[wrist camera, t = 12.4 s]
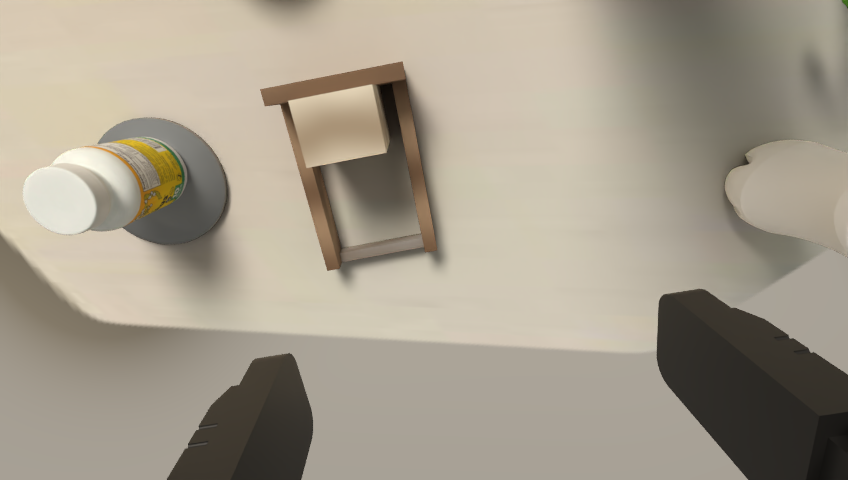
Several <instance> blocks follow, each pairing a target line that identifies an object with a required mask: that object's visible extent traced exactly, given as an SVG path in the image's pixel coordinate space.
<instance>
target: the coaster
mask: <svg viewBox="0 0 848 480" xmlns="http://www.w3.org/2000/svg"><path fill="white" fill-rule="evenodd" d="M136 137H151V138H155V139H158V140H161V141H163V142H165V143H167V144H168V145H170V146H171V147H172V148H174V149H175V150H176V151H177V153H178V154H179V155H180V157H181V158H182V160H183V162H184V164H185V166H186V169H187V183H186V187H185V189H184V191H183V193H182V195H181V196H180V197H179V198H178V199H177V200H176V201H174V202H173V203H171V204H169V205H167V206H165V207H163V208H161V209H159V210H157V211H155V212H152V213H150V214H148V215H146V216H144V217H142V218H140V219H138V220H136V221H134V222H132V223H130V224H128V225H126V226H124V227H122V228H124V229H125V230H126V231H128V232H130V233H131V234H133V235H135V236H137V237H139V238H141V239H144V240H147V241H150V242H154V243H160V244H180V243H185V242H189V241H192V240H194V239H196V238H198V237H200V236H202V235H203V234H205V233H206V232H207V231H209V230H210V229H211V228H212V227H213V226H214V225H215V224H216V223H217V221H218V220H219V218H220V217H221V215H222V213H223V211H224V208H225V204H226V199H227V183H226V177H225V174H224V170H223V168H222V165H221V163H220V161H219V159H218V158H217V156H216V154H215V153H214V152H213V150H212V149H211V148H210V146H209V145H208V144H207V143H206V142H205V141H204V140H203V139H202V138H201V137H199V136H198V135H197V134H196V133H194V132H193V131H191V130H190V129H188V128H186V127H184V126H183V125H180V124H178V123H175V122H173V121H169V120H166V119H160V118H138V119H132V120H128V121H124V122H122V123H120V124H117V125H116V126H114V127H113V128H111V129H110V130H109V131H107V132H106V133H105V134H104V135H103V137H102V138H101V139H100V140H99V142H98V144H103V143H109V142H114V141H119V140H124V139H129V138H136Z"/></svg>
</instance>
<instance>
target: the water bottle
mask: <svg viewBox="0 0 848 480" xmlns="http://www.w3.org/2000/svg"><path fill="white" fill-rule="evenodd" d="M745 156H746V159H747V161H748V162H749V163H750V164H748V165H744V166H739V167H736V168H734V169H732V170H731V171H730V173H729V174H728V175H727V177H726V181H725V192H726V195H727V197H728V199H729V201H730V202H731V203H732V204H733V205H734V210H735V212H736V213H737V214H738V216H739V217H740V218H741V219H742V220H744V221H745V222H747V223H749V224H750V225H752V226H754V227H756V228H759V229H761V230H764V231H766V232H770V233H774V234H781V235H787V236H793V237H797V238H800V239H804V240H808V241H811V242H814V243H817V244H820V245H822V246H825V247H827V248H830V249H832V250H834V251H836V252H838V253H840V254H842V255H844V256H846V257H847V258H848V152H844V151H840V150H837V149H834V148H830V147H827V146H825V145H822V144H820V143H817V142H813V141H805V140H781V141H774V142H770V143H766V144H763V145H760V146H758V147H755V148H753V149H751V150H750V151H749V152H747V153H746V154H745Z"/></svg>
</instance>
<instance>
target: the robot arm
mask: <svg viewBox="0 0 848 480" xmlns="http://www.w3.org/2000/svg"><path fill="white" fill-rule="evenodd" d="M657 361H658V366H659V370H660V372H661V375H662V377H663V379H664V381H665V382H666V384H667V385H668V386H669V388H670V389H671V390H672V391H673V392H674V393H675V395H676V396H677V397H678V398H679V399H680V400H681V401H682V403H683V404H684V405H685V406H686V407H687V409H688V410H689V411H690V412H691V413H692V414H693V416H694V417H695V418H696V419H697V420H698V421H699V423H700V424H701V425H702V426H703V427H704V428H705V430H706V431H707V432H708V433H709V434H710V435H711V436H712V438H713V439H714V440H715V441H716V442H717V444H718V445H719V446H720V447H721V448H722V450H723V451H724V452H725V453H726V454H727V455H728V456H729V458H730V459H731V460H732V461H733V462H734V464H735V465H736V466H737V467H738V468H739V469H740V471H741V472H742V473H743V474H744V475H745V476H746V478H747V479H748V480H848V375H847V374H846V373H844V372H843V371H841V370H840V369H838V368H837V367H835V366H834V365H832V364H830V363H829V362H828V361H826V360H825V359H823V358H822V357H820V356H819V355H817V354H816V353H814V352H813V353H810V351H809V349H808V348H807V347H805V346H804V345H802V344H801V343H799V342H798V341H796V340H795V339H790V338H789V336H788V335H787V334H786V333H784V332H783V331H781V330H780V329H778V328H777V327H775V326H774V325H772V324H771V323H769V322H768V321H766V320H765V319H762V318H760V317H757V316H755V315H752V314H750V313H747V312H745V311H742V310H739V309H737V308H730V307H729V306H728V305H726V304H725V303H723V302H722V301H720V300H719V299H718V298H716V297H715V296H713V295H712V294H710V293H709V292H708V291H706V290H703V289H695V290H689V291H683V292H677V293H670V294H665V295H663V296H662V297H661V298H660V301H659V308H658V334H657ZM312 435H313V417H312V411H311V407H310V404H309V401H308V398H307V394H306V392H305V389H304V385H303V382H302V379H301V376H300V372H299V369H298V366H297V363H296V360H295V358H294V357H293V355H292V354H290V353H288V354H282V355H275V356H269V357H264V358H257V359H255V360H253V361H252V363H251V364H250V366H249V368H248V370H247V372H246V374H245V375H244V377H243V379H242V381H241V383H240V385H237V386H231V387H230V388H229V389H228V390H227V391H226V392H225V393H224V394H223V395H222V396H221V397H220V398H218V399H217V400H216V401H215V402H214V403H213V404H212V405H211V407H210V408H209V410H208V412H207V413H206V415H205V417H204V418H203V420H202V422H201V423H200V425H199V430H196V432H195V433H194V435H193V437H192V438H191V440H190V442H189V443H188V448H187V449H185V450H184V452H183V454H182V455H181V457H180V458H179V460H178V462H177V463H176V465H175V467H174V468H173V470H172V472H171V473H170V475H169V477H168V478H167V480H301V478H302V474H303V471H304V467H305V463H306V459H307V455H308V452H309V447H310V444H311V440H312Z"/></svg>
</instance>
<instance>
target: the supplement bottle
mask: <svg viewBox="0 0 848 480" xmlns="http://www.w3.org/2000/svg"><path fill="white" fill-rule="evenodd" d="M186 183H187V169H186V166H185V164H184V162H183V160H182V158H181V157H180V155H179V154H178V153H177V151H176V150H175V149H174V148H172V147H171V146H170V145H168V144H167V143H165V142H163V141H161V140H158V139H155V138H151V137H136V138H129V139H124V140H119V141H114V142H109V143H103V144H97V145H91V146H85V147H80V148H75V149H72V150H69V151H67V152H65V153H63V154H61V155H60V156H59V157H58V158H56V159H55V161H54V162H53V163H52V165H51V166H47V167H43V168H40V169H38V170H36V171H34V172H33V173H31V174H30V175H29V176H28V178H27V179H26V181H25V183H24V187H23V199H24V203H25V206H26V208H27V210H28V211H29V213H30V215H31V216H32V217H33V218H34V219H35V220H36V221H37V222H38V223H39V224H40V225H42V226H43V227H44V228H46V229H48V230H50V231H52V232H55V233H58V234H62V235H76V234H80V233H83V232H86V231H88V230H92V231H111V230H115V229H119V228H122V227H124V226H126V225H128V224H130V223H132V222H134V221H136V220H138V219H140V218H142V217H144V216H146V215H148V214H150V213H152V212H155V211H157V210H159V209H161V208H163V207H165V206H167V205H169V204H171V203H173V202H174V201H176V200H177V199H178V198H179V197H180V196H181V195H182V193H183V191H184V189H185V187H186Z"/></svg>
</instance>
